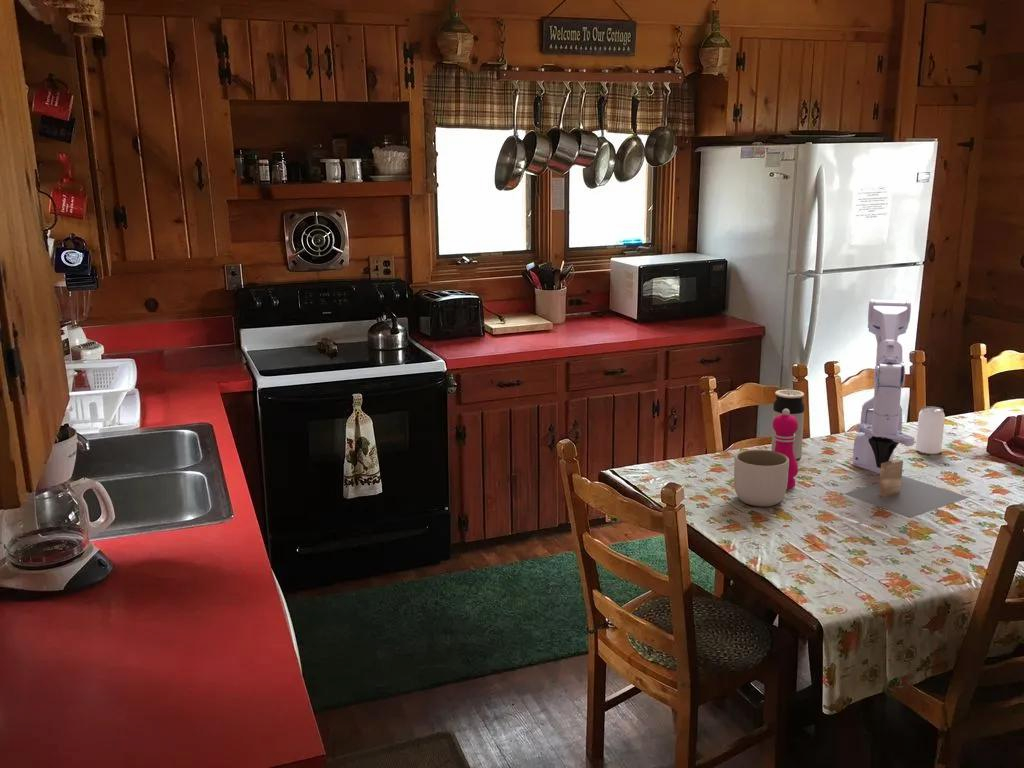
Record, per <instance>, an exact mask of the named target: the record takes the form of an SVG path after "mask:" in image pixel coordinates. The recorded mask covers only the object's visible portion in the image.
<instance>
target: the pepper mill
mask: <svg viewBox="0 0 1024 768" xmlns="http://www.w3.org/2000/svg"><path fill="white" fill-rule="evenodd" d="M782 413H783V414H781V415H778V416H777V417H776V418H775V419H774V421H773V420H772V426H773V429H774V430H775V432H776V433H774V435H775V437H774V439H775V440H776V446H775V450H774V451H775V452H779V453H781V454H784V455H786V456H787V457H788V458H789V469H788V482H787V489H791V488H794V487H795V486H796V479H795V477H796V476H797V475H798V474H799V465H798V461H797V459H795V456H794V452H793V441H795V434H794V433H795V432H796V431H797V429H798V422H797V420H796V418H795V417H793V416H792V415H789V414H790V411H789V410H788V409H784V410H783V411H782Z"/></svg>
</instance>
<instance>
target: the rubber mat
mask: <svg viewBox="0 0 1024 768" xmlns="http://www.w3.org/2000/svg"><path fill="white" fill-rule="evenodd" d="M879 483H880V482H877V483H874V484H871V485H867V486H864V487H861V488H858V489H853V490H851V491H847V492H844V493H843V494H844V495H846V496H849V497H852V498H855V499H857V500H860V501H862V502H865V503H868V504H871V505H874V506H876V507H879V508H882V509H885V510H887V511H890V512H893V513H896V514H898V515H901V516H904V517H907V518H909V519H911V518H914V517H917V516H920V515H923V514H926V513H929V512H931V511H934V510H937V509H939V508H943V507H945V506H946V507H947V506H949V505H951V504H954V503H956V502H959V501H962V500H965V499H969V498H970V497H969V496H966V495H965V494H964V495H963V494H960V493H957V492H954V491H951V490H948V489H946V488H945V489H944V488H941V487H939V486H936V485H934V484H933V485H932V484H929V483H926V482H923V481H920V480H917V479H913V478H911V477H907V476H905V475H902V479H901V490H900V492H898V493H895V494H892V495H889V496H886V497H883V496H880V495H879Z"/></svg>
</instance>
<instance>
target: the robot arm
mask: <svg viewBox="0 0 1024 768" xmlns="http://www.w3.org/2000/svg"><path fill="white" fill-rule="evenodd" d="M911 313H912V304H911V302H910V300H907V299H906V300H894V299H874V298H872V299H870V300H869V302H868V311H867V314H868V315H867V328H868V332H869V333H871V334H873V335H875V339H876V344H877V345H876V356H875V357H876V358H875V359H876V360H875V366H874V372H873V387H874V388H873V389H874V392H873V396H872V397H871V398H870V399H868V400H866V401H864V403H863V404H862V406H861V412H860V422H859V423H857V424H856V430H855V431H856V433H857V434H856V436H855V438H854V442H853V451H852V461H851V462H850V464H851V465H853V466H856V467H859V468H861V469H866V470H868V471H871V472H874V473H878V474H880V471H881V463H884V462H888V461H891V460H894V452H895V449H896V448H897V446H898V445H899V444H901V445H904V446H905V447H911V446H912V447H913V446H914V442H915V437H913V436H910V435H908V434H907V433H906V434H905V433H904V432H902V429H903V408H902V405H901V397H902V389H903V388H904V386H905V380H906V367H905V363H904V361H903V346H902V344H901V343H900V342H898V337H899V336H900V335H903V334H906V333H907V330H908V328H909V325H910V324H909V323H910V320H911Z"/></svg>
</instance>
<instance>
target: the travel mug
mask: <svg viewBox="0 0 1024 768" xmlns="http://www.w3.org/2000/svg"><path fill="white" fill-rule="evenodd" d="M774 394H775V397H776V399H775V401H774V402H773V407H772V408H773V410H772V411H773V412H772V413H773V414H772V422H773V421H774V419H775V418H776V417H777V416H778V415H781V414H783V413H782V411H783V410H784V409H788V410H789V411H790V414H789V415H792V416H793V417H795V418H796V420H797V422H798V429H797V431H796V432H795V433H794V434H795V441H793V452H794V456H795V459H796V460H799V459H801V457H802V453H803V452H802V451H803V438H804V437H803V436H804V434H803V433H804V419H805V404H804V401H803V399H804V396H805V393H804V392H803V391H800V390H796V389H779V390H778V389H777V390H776V391H775V392H774ZM771 428H772V431H771V448H770V451H774V450H775V446H776V440H775V439H774V437H775V435H774V433H776V432H775V430H774V429H773V425H772V427H771Z"/></svg>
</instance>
